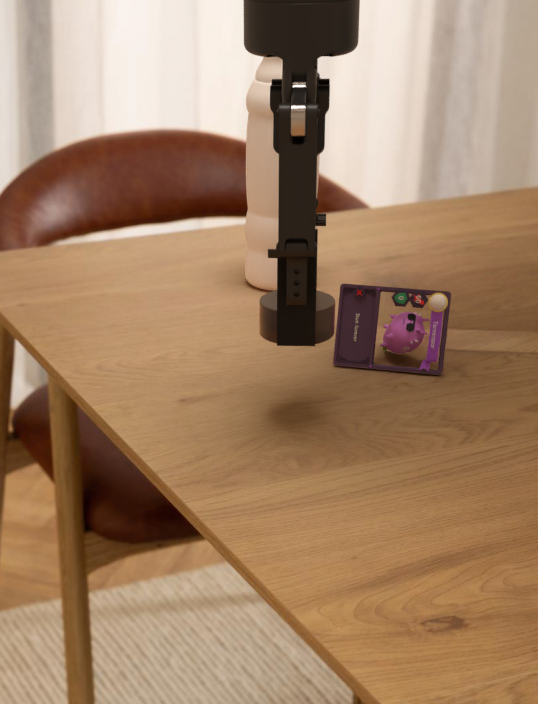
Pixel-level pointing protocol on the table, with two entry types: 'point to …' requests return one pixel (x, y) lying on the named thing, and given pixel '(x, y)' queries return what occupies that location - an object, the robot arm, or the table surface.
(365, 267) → the table surface
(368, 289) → the game card
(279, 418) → the table surface
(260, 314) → the brown wooden puck
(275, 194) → the water bottle
